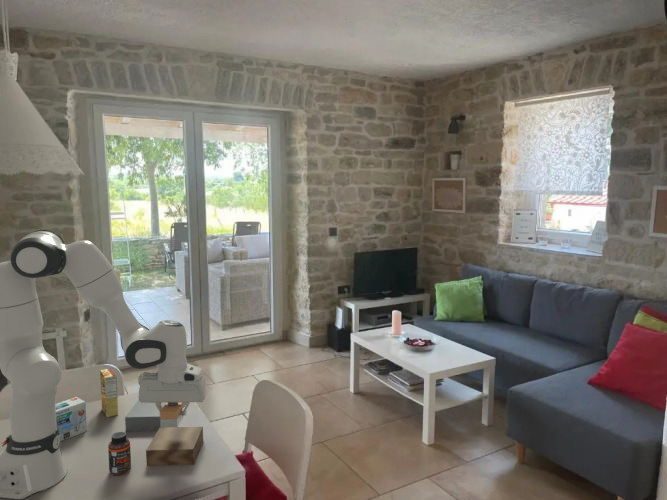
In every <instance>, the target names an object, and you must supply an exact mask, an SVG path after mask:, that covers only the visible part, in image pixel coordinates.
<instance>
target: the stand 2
mask: <svg viewBox="0 0 667 500" xmlns="http://www.w3.org/2000/svg"><path fill="white" fill-rule="evenodd" d="M156 431H157V432H156V433H155V435H154V437H153V438H152V440H151V441H150V443H149V444H148V446H147V448H146V449H145V457H146V461H145V462H146V467H154V466H155V467H158V466H159V467H160V466H161V467H162V466H187V465H188V466H191V465H193V466H194V465H195V463H196V460H197V457H198V455H199V452H200V450H201V447H202V444H204V443H203V442H204V427H203V426H179V427H165V428H159V430H156Z"/></svg>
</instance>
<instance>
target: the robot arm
mask: <svg viewBox="0 0 667 500" xmlns="http://www.w3.org/2000/svg"><path fill="white" fill-rule="evenodd" d="M9 257H10V260H7V261H2V262H0V371H1V374H2V375H3V376H4V377H5V378H6V379H7V380H8V381H9V382H10V384H11V386H12V400H11V401H12V402H11V405H10V406H11V407H10V408H9V411H8V412H9V424H10V431H11V432H10V434H9V435H8V436H7V437H6V439H5V440H3V442H2V443H1V447H2V448H3V447H5V446H6V447H5V448H4V449H3V450H2V451H1V452H0V498H3V499H12V500H13V499H14V500H22V499H25V498H27V497H29V496H31V495H33V494H35V493H38V492H41V491H44V490H47V489H49V488H51V487H53V486H56V485H57V484H59V482H61V481H62V480H63V479H64V478H65V476H66V475H67V472H68V470H67V468H66V465H65V463H64V461H63V457H62V454H61V450H60V446H61V441H60V437H59V428H58V426H57V422H56V407H55V404H56V398H57V392H58V385H59V383H60V382H61V380H62V373H63V372H62V369H61V368H62V367H61V366H60V364H59V362H58V361H57V359H56V358H55V357H54V356H52V354H50V353H49V352H47V351H46V350H45V347H44V345H43V327H44V319H43V314H42V309H41V305H40V301H39V296H38V291H37V287H36V279H38V278H45V277H49V276H55V275H60V274H61V273H63V274H65V276H66V277H67V278H68V279H69V280H70V282H71V283H72V285H73V287H74V288H75V290H76V291H77V292H78V294H79V295H80V297H82V299H83V300H84V301H85V302H86V303H87V304H89V306H91V307H92V308H97V309H99V310H101V311H102V312H104V313H105V314H106V316H107V317H108V319H109V320H110V321H111V324H112V325H113V326H114V327H115V329H116V330H117V331H118V334H119V337H120V338H119V339H120V347H121V349H122V351H123V354H124V357H125V361H126V363H127V364H128V365H129V366H130V367H131V368H134V369H135V370H136V369H137V370H138V369H139V370H143V369H147V368H152V367H154V366H156V370H157V371H155V372H154V371H151V372H147V371H146V372H145V371H144V372H143V373H140V374H139V376H138V379H137V381H138V385H139V388H138V400H139V401H140V402H141V403H156V407H157V408H158V410H159V413H160V411H161V410H162V408H163V407H162V405H161V403H173V402H184V405H185V408H182V409H181V415H184V416H187V411H188V410H187V409H188V407H189V405H190V404H191V403H203V402H204V401H205V400H206V398H207V386H206V381H205V378H204V376H203V368H202V367H200V366H196V365H192V364H191V363H188V359H187V355H186V354H187V351H188V340H187V338H188V337H187V332H186V327H185V326H184V325H183V323H181V322H179V321H176V320H170V319H167V320H161V321H159V322H158V323H157V324H156V325H155V326H154V327H152V328H148V327H147V326H145V325H144V324H142V323H141V322H139V321H138V319H137V318H136V317H135V315H134V314H133V312H132V310H131V309H130V307H129V306H128V305H127V303H126V300H125V297H124V291H123V290H124V289H123V286H122V283H121V281H120V279H119V276H118V274H117V272H116V270H115V269H114V267H113V266H112V265H111V263H110V261H109V260H108V258H107V257H106V256H105V254H104V253H103V252H102V251H101V249H99V248H98V246H97V245H96V244H95V243H93V242H91V241H89V240H86V239H84V240H77V241H74V242H71V243H68V244H65V240H63V238H62V237H61V235H59V234H58V233H57V232H55V231H52V230H49V229H39V230H35V231H32V232H31V233H29V234H27V235H25V236H23V237H22V238H21V239H20V240H19V241H18V242H17V243H16V244H15V245H14V246H13V247H12V249H11V252H10V256H9Z"/></svg>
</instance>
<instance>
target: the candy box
mask: <svg viewBox="0 0 667 500" xmlns="http://www.w3.org/2000/svg"><path fill="white" fill-rule="evenodd" d="M99 375H100V394H101V396H100V397H101V409H102V411H103V413H104V414H105V417H106V418H110V417H114V416H118V415H119V406H118V405H119V402H118V384H117V383H118V381H117V380H118V378H117V377H118V376H117V375H116V373H115V372H114V370H113V369H112V368H104V369H100V370H99Z"/></svg>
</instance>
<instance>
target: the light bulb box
mask: <svg viewBox="0 0 667 500" xmlns="http://www.w3.org/2000/svg"><path fill="white" fill-rule="evenodd" d="M55 407H56V422H57V426H58V428H59V437H60V442H62V441H65V440H67V439H70V438H73V437H75V436H78V435H80V434H83V433H86V432H87V431H88V425H87V423H88V422H87V408H86V401H85V400H83V399H81V398H79V397H78V396H75V397H72V398H69V399H67V400H66V399H65V400H62V401H60V402H56V403H55Z"/></svg>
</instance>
